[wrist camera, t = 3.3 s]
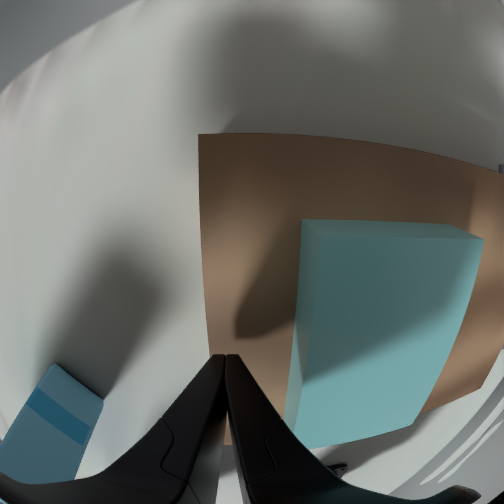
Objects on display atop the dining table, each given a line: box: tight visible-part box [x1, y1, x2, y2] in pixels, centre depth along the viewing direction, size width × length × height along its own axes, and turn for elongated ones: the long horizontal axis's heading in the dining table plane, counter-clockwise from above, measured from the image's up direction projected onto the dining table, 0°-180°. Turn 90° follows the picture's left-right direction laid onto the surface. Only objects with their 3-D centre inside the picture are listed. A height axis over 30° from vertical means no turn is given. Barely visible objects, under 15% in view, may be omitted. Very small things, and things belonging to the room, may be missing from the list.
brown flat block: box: [198, 133, 504, 445], centre depth 12 cm, size 14×18×4 cm
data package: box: [0, 364, 104, 504], centre depth 10 cm, size 12×4×12 cm, turn 136°
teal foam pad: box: [284, 219, 484, 449], centre depth 9 cm, size 9×6×2 cm, turn 0°
